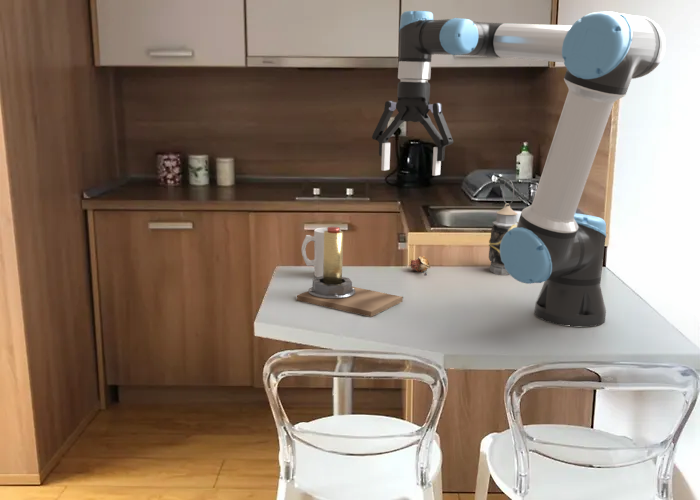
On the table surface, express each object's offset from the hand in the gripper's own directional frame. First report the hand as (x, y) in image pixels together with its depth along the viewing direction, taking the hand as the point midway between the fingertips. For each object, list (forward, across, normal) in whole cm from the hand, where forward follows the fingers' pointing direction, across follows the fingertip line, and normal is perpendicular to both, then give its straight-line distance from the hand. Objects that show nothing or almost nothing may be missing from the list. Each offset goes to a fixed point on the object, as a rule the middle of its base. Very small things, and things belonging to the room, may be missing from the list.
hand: (410, 172), depth 183 cm
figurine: (+29, +4, -16) cm, 33 cm away
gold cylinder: (+27, +10, +17) cm, 34 cm away
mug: (+29, +23, +3) cm, 37 cm away
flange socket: (+27, +10, +17) cm, 34 cm away
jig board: (+28, +5, +18) cm, 34 cm away
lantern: (+29, -13, -30) cm, 44 cm away
